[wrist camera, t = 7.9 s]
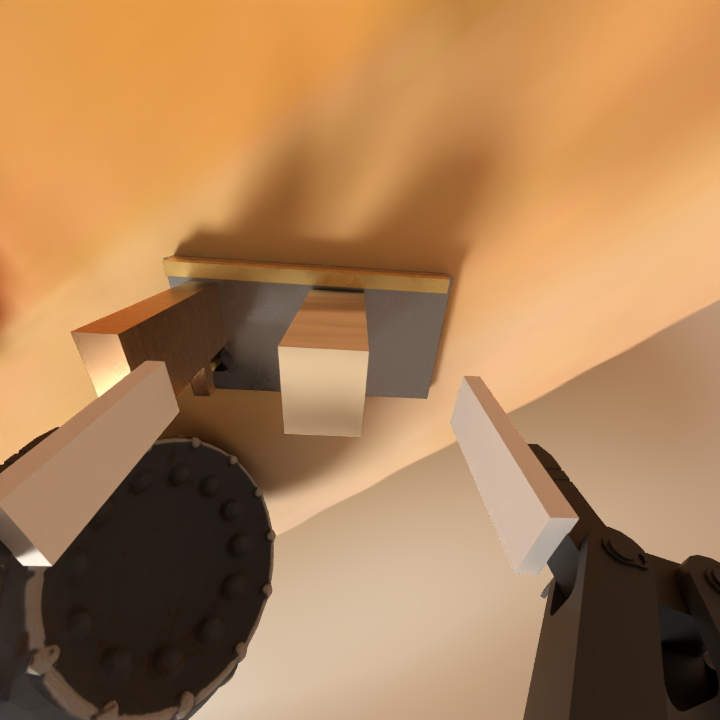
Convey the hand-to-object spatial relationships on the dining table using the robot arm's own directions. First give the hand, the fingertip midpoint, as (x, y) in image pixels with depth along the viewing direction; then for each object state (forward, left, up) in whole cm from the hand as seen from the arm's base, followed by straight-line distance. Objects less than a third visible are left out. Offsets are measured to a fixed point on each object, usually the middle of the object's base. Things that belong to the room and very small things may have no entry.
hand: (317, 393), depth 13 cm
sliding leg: (+2, 0, -10) cm, 11 cm away
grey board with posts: (+2, -1, -12) cm, 12 cm away
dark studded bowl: (+19, -14, -12) cm, 26 cm away
